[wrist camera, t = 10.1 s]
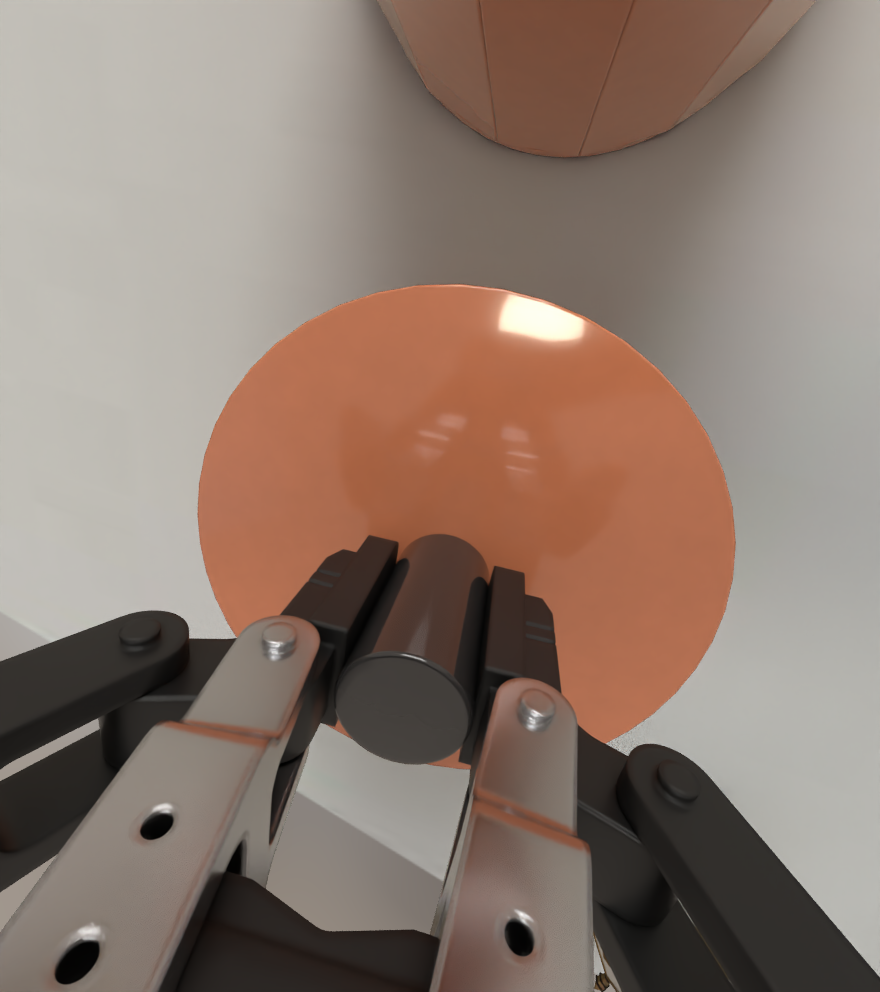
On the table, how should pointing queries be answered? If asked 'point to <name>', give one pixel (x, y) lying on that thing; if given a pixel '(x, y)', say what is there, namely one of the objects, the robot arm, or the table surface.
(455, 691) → the lid
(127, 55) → the table surface
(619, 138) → the pot
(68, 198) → the table surface
